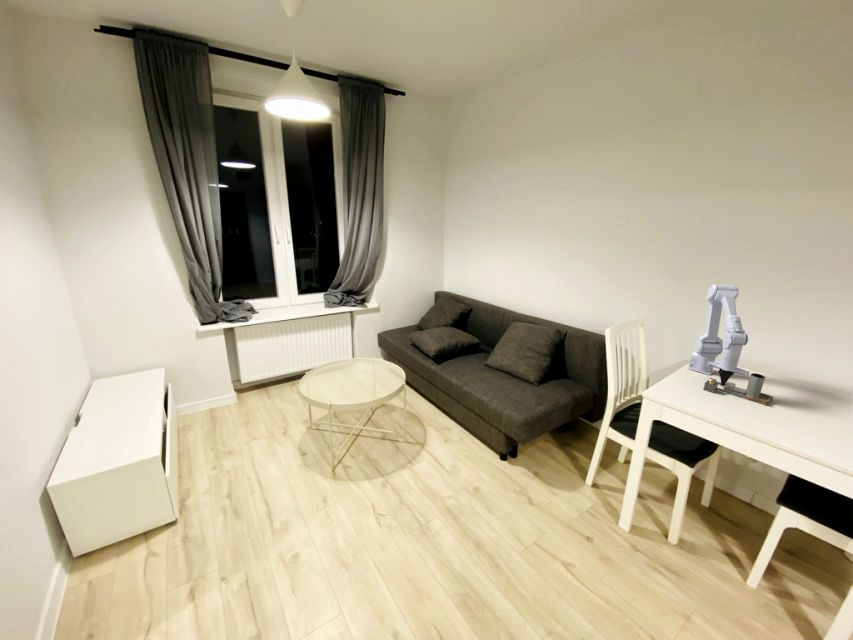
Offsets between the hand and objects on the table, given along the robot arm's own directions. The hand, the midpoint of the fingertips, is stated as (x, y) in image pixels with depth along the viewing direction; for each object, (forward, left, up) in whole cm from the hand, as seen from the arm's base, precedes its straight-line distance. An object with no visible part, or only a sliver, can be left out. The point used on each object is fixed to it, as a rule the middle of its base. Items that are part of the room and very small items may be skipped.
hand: (722, 385), depth 160 cm
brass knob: (-3, -7, -1) cm, 7 cm away
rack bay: (+12, 0, -1) cm, 12 cm away
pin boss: (-3, -7, -1) cm, 7 cm away
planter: (+10, 0, -2) cm, 10 cm away
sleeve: (+2, 0, -1) cm, 2 cm away
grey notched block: (+4, 0, -1) cm, 5 cm away
